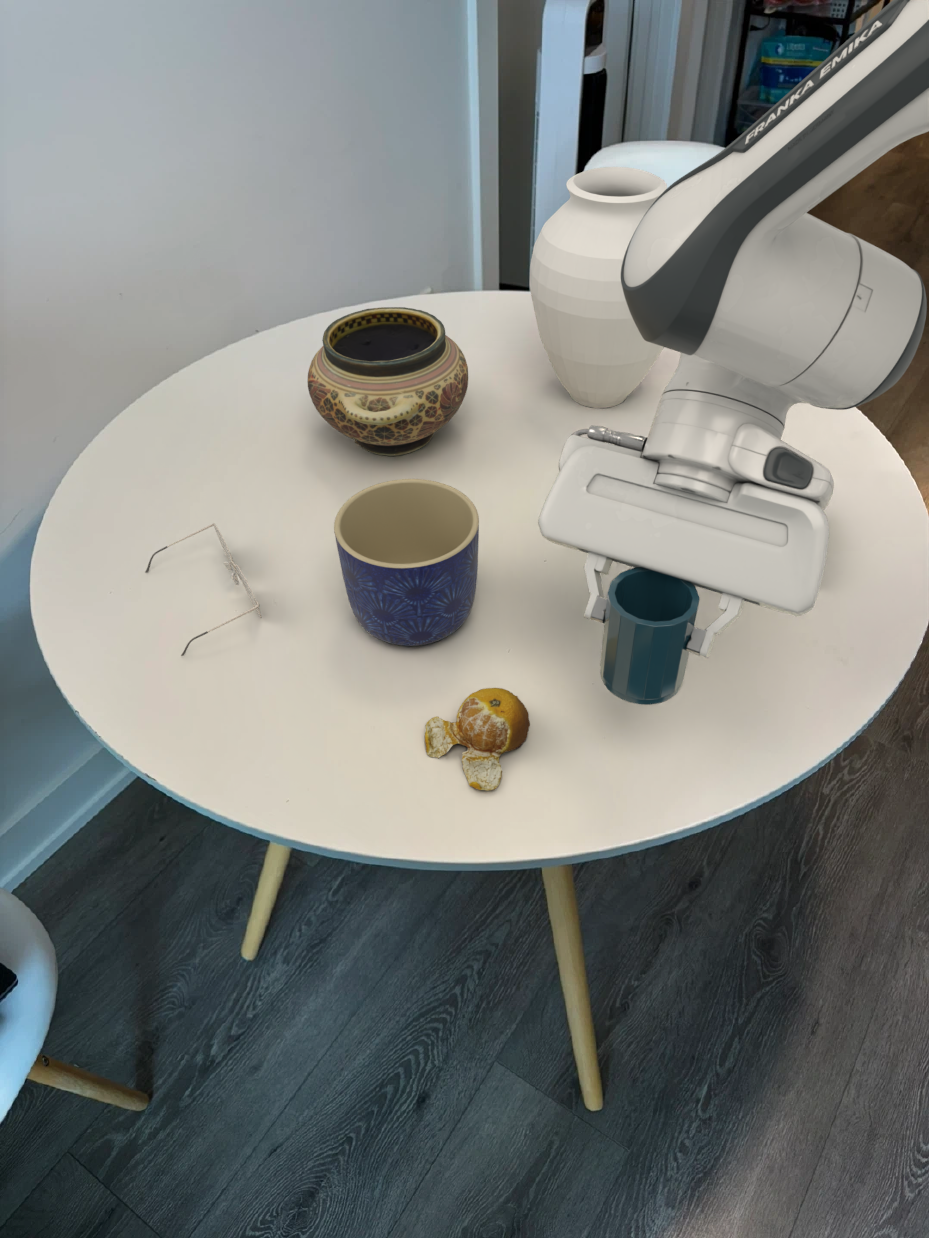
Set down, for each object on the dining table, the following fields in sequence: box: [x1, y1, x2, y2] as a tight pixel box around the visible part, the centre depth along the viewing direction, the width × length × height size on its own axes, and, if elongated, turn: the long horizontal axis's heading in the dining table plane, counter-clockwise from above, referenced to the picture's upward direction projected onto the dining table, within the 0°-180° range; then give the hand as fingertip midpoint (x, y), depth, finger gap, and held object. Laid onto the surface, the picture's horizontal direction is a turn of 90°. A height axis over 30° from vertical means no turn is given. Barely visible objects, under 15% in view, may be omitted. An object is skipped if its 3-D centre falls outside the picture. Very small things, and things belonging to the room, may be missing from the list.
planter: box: [333, 478, 480, 647], centre depth 82 cm, size 12×12×11 cm
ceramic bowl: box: [307, 306, 469, 457], centre depth 104 cm, size 24×18×15 cm
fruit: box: [424, 687, 531, 792], centre depth 74 cm, size 8×8×4 cm
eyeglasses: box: [144, 522, 262, 657], centre depth 87 cm, size 14×8×4 cm, turn 28°
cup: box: [599, 567, 701, 706], centre depth 67 cm, size 6×6×8 cm
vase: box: [529, 166, 668, 409], centre depth 106 cm, size 18×18×25 cm
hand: (645, 637), depth 66 cm, fingers closed on cup, 6 cm apart
